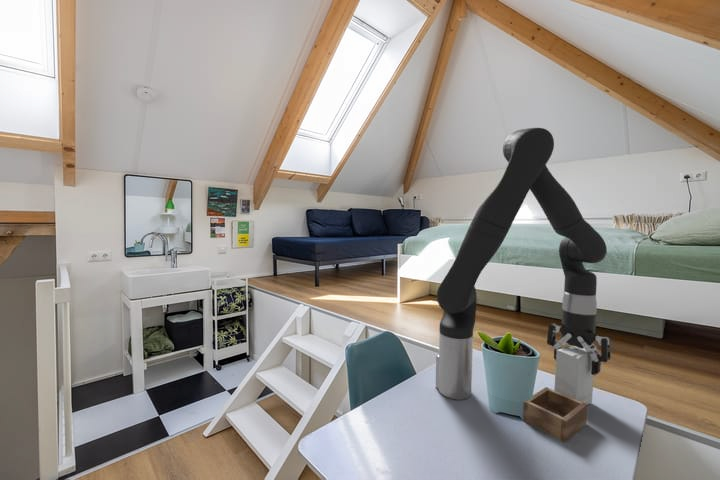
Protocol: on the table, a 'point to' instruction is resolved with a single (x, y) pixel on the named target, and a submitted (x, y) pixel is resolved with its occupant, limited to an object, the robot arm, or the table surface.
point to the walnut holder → (552, 422)
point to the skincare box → (574, 373)
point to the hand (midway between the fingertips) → (575, 367)
